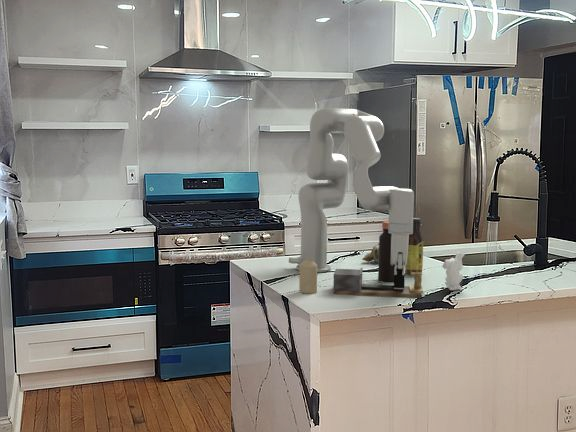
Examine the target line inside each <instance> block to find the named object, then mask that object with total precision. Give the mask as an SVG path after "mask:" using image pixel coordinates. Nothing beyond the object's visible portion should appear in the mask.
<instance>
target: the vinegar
mask: <svg viewBox="0 0 576 432" xmlns="http://www.w3.org/2000/svg"><path fill="white" fill-rule="evenodd" d="M381 228H382V231H383V232H382V233H381V234H380V235H379V238H378V239H379V240H378V243H379V263H378V268H377V269H378V270H377V272H378V273H377V279H378V281H379V282H385V283H394V267H395V264H393V266H392V265H391V236H392V234H390V233H388V228H389V220H384V221H382V227H381Z"/></svg>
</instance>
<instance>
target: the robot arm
mask: <svg viewBox="0 0 576 432" xmlns="http://www.w3.org/2000/svg"><path fill="white" fill-rule="evenodd" d="M309 121H310V122H309V139H310V140H309V146H308V154H307V155H308V156H307V161H306V162H307V163H306V175H307V176H308V178H310V180H314V181H327V182H311V183H306V184H304V185H303V186H301V187H300V189H299V191H298V203H299V210H300V256H297V257H288V263H289V264H297V265H296V267H295V268H296V270H297V271H299V272H300V264H301V263H303V262H304V261H305V260H310V261H314V262H315V263H316V264H317V273H326V272H330V271H331V270H332V268H331V265H329V264H327V261H328V260H327V259H328V258H327V257H328V253H327V251H328V220H327V216H326V214H325V213H324V210H325V209H327V210H328V209H336V208H338V207H340V206H341V205H342V204H343V203H344V201H345V196H346V189H347V183H348V176H349V163H348V162H349V161H348V159H347V158H346V157H345V155H343V154H341V153H333V152H334V146H335V142H334V138H333V136H332V134H344V137H345V139H346V141H347V144H348V146H349V149H350V152H351V155H352V157H353V158H354V162H355V167H354V170H353V175H352V186H353V190H354V193H355V195H356V198H357V200H358V202H359V204H360V205H361V207H362V208H363V209H365V210H366V211H371V212H372V211H374V212H375V211H388V221H389V228H388V233H390V234H392V236H391V265H392V266H393V264H395V275H394V282H393V286H394V288H404V286H405V278H406V277H405V269H404V267H405V266H406V264H407V257H408V243H409V234H413V218H414V211H415V210H414V204H415V192H414V191H413V190H412V189H411V188H405V187H404V188H399V187H396V186H391V185H388V186H386V185H385V186H383V185H382V186H373V184H372V182H371V180H370V178H369V172H368V171H369V168H371V167H372V166H374V165H375V164H377V162H378V161H380V159H381V156H382V154H381V152H380V149H379V146H378V144H377V142H379V141H381V139H382V138H383V137H384V134H385V126H384V124H383V122H382V121H381V119H379V118H378V117H377V116H375V115H373V114H369V113H367V112H364V111H361V110H359V109H356V108H355V109H354V108H340V107H325V108H321V109H318V110H316V111H315V112H314V113H313V115H312V116H311V119H310V120H309ZM397 267H398V268H397Z"/></svg>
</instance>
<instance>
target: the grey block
mask: <svg viewBox="0 0 576 432" xmlns="http://www.w3.org/2000/svg"><path fill="white" fill-rule="evenodd" d="M397 268H398V267H397ZM404 270H405V266H404ZM394 275H395V267H394ZM361 288H369V289H392V290H404V288H394V284H393V285H390V284H389V285H388V284H365V283H362V286H361Z"/></svg>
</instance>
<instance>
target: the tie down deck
mask: <svg viewBox="0 0 576 432" xmlns="http://www.w3.org/2000/svg"><path fill="white" fill-rule="evenodd" d="M363 270H364V269H363V267H360V268H359V269H354V268H353V269H351V268H335V270H334V272H333V287H332V288H333V290H332V295H346V296H347V295H350V296H368V297H369V296H370V297H371V296H372V297H391V298H392V297H395V298H396V297H397V298H413V299H414V298H417V299H418V298H419V299H420V298H422V295H423V294H424V289H423V285H422V279H423V278H422V276H423V272H422V273H419V272H416V273H414V272H412V274H410V275H411V277H414V281H413V282H414V283H413V284H409V285H404V290H392V289H369V288H361V286H362V284H363ZM422 299H423V298H422Z"/></svg>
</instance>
